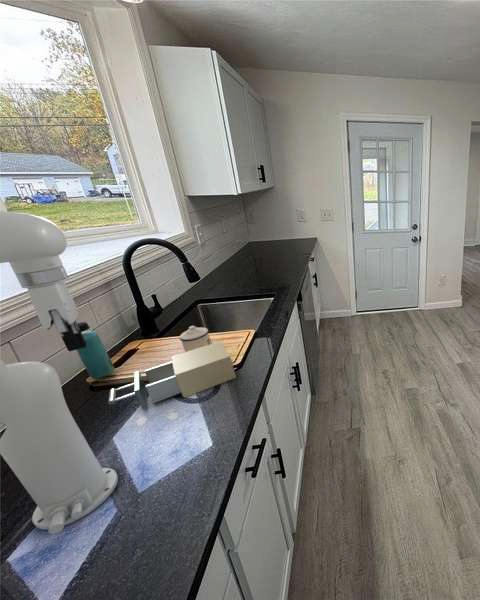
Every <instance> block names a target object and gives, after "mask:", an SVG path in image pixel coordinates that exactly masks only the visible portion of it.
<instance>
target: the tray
mask: <svg viewBox="0 0 480 600" xmlns="http://www.w3.org/2000/svg"><path fill="white" fill-rule="evenodd" d="M144 373H145V375H146V378H147V380H148V382H149V383H148V384H147V385H146V384H145V381H144V378H143V376H142V374H141V372H140V370H135V371H134V372H133V382H132V383H129V384H126V385H124V386H123V385H122V386H120V387H118V388H114V387H113V388H111V389H109V394H108V405H110V406H112V405H115V404H116V402H119V401H122V400H125V399H127V398H128V399H129V398H130V397H133V396H136V399H137V401H138V403H139V405H140V407H141V409H142V410H145V409H147V408H148V396H149V398H150V400H151V403H152V404H155V403H158V402H160V401H163V400H166V399H168V398H171V397H174V396H176V395H179V394H182V392H181V390H180V387H179V385H178V382H177V379H176V377H175V373H174V369H173V364H172V361H168V362H165V363H163V364H160V365H157V366H153V367H151V368H147V369H145V370H144ZM130 387H133V392H131V393H127V394H125V395H122V396H119V397H117V392H119V391H122V390H126V389H128V388H130ZM147 393H148V394H147Z"/></svg>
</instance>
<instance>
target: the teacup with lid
mask: <svg viewBox="0 0 480 600" xmlns="http://www.w3.org/2000/svg"><path fill="white" fill-rule="evenodd" d="M179 340H180V341H181V345H182V347H183V350H184V352H188V351H191V350H194V349H197V348H200V347H203V346H207V345H210V344H213V343H212V339H211V337H210V331H209V329H208V328H207V327H197V326H195V325H191V326H188V329H187V330H185V331H184V332H182V333H181V334H180V335H179Z"/></svg>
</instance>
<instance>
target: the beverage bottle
mask: <svg viewBox="0 0 480 600" xmlns="http://www.w3.org/2000/svg"><path fill="white" fill-rule="evenodd" d="M77 325H78V327H79V331H81V333H82V335H83V337H84V339H85V341H86V343H87V345H86V347H85V348H81V349H77V350H76V353H77V355H78V357H79V359H80V362H81V363H82V365H83V367H84V368H85V370H86V372H87V374H88V376H89V377H90V378H91V379H100V378H103V377H106V376H108V375H110V374H112V373H113V372H114V371H115V366H114V363H113V361H112V359H111V357H110V355H109V353H108V351H107V349H106V348H105V345H104V343H103V342H102V340H101V338H100V336H99V333H98V332H96V331H94V330H90V329H91V328H90V325H89V324H88V323H87V322H86V321H82V322H77Z"/></svg>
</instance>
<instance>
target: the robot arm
mask: <svg viewBox="0 0 480 600" xmlns="http://www.w3.org/2000/svg"><path fill="white" fill-rule="evenodd" d="M67 244H68V243H67V238H66V235H65V233H64V232H63V230H62V229H61V228H60V227H59V226H58V225H57V224H56V223H54V222H52V221H51V220H49V219H47V218H44V217H41V216H38V215H36V214H35V215H34V214H31V213H26V212H25V213H24V212H17V211H6V210H0V264H4V263H9V265H10V268H11V269H12V271H13V273H14V275H15V277H16V279H17V281H18V283H19V285H20V286H21V288H22V289H27V291H28V292H27V293H28V295H29V298H30V301H31V304H32V306H33V309H34V310H35V313H36V315H37V317H38V319H39V322H40V324H41V326H42V329H44V330H47V331H48V330H51V328H52V327H53V325H54V326H55V328H56V330H57V331H58V333H59V335H60V337H61V339H62V342H63V344H64V345H65V347H66V349H67V351H68V352H73V351H77V349H81V348H85V347H86V345H87V343H86V341H85V339H84V337H83V335H82V333H81V331H79V327H78V325H77V323H78V322H77V318H78V316H79V311H78V308H77V305H76V303H75V301H74V299H73V296H72V295H71V292H70V290H69V289H68V286H67V285H66V283H65V282H66V281H67V282H68V281H69V280H70V277H69V275H68V273H67V271H66V269H65V267H64V265H63V264H64V263H63V262H62V260H61V258H60V255H62V254H63V253H64V252H65V250H66V249H67ZM0 425H4V426H6V428H5V430H4V432H3V433H2V435H1V437H0V456H1V457H2V459H3V460H4V461H5V462H6V464H7V465H8V466H9V468H10V469H11V471H12V472H13V473H14V475H15V477H17V479H18V481H20V484H21V485H22V486H23V488H24V489H25V490H26V491H27V493H28V494H29V496H30V497H31V498H32V500H33V501H34V503H35V504H36V505H37V506H36V508H35V510H33V514H32V516H31V521H32V523H33V525H34V526H35V527H36V528H37V529H39V530H43V531H45V530H46V531H48V534H50V535H56V534H59V533H60V532H62V531H63V530H64V528H65V526H67V525H69V524H72V523H74V522H76V521H78V520H80V519H82V518H84V517H85V516H87V515H88V514H90V513H91V512H93V511H94V510H95V509H97V508H98V507H99V506H100V505H101V504H103V503H104V502H105V501H106V500H107V499H108V498H109V497H110V496H111V495H112V493H113V492H114V491H115V488H116V487H117V485H118V483H119V476H118V473H117V471H116V470H115V469H113V468H110V467H102V466H101V465H100V463H99V460H98V459H97V457H96V456H95V454H94V452H93V450H92V449H91V447H90V445H89V443H88V441H87V439H86V438H85V436H84V434H83V433H82V431H81V429H80V427H79V426H78V423H77V422H76V420H75V419H74V417H73V414H72V413H71V411H70V409H69V407H68V405H67V402H66V399H65V395H64V393H63V388H62V384H61V380H60V377H59V374H58V373H57V371H56V369H55V368H54V367H53V366H51V365H50V364H47V363H46V362H41V361H22V362H14V363H8V364H6V363H5V362H4V360H2V359H1V358H0Z"/></svg>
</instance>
